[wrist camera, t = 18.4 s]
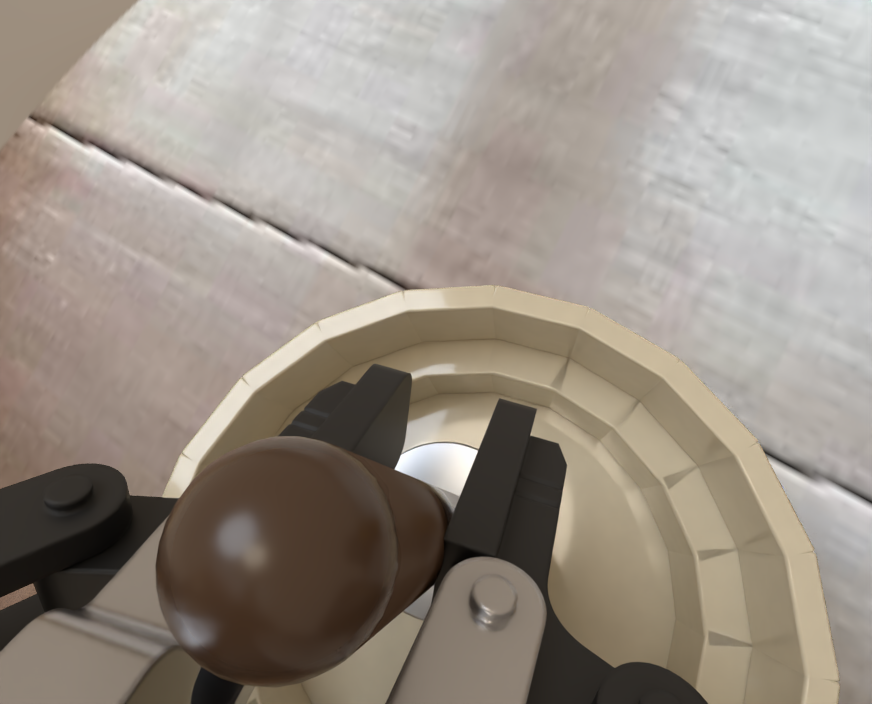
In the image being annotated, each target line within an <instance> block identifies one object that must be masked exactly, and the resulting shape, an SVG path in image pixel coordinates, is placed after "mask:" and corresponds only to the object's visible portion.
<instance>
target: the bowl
mask: <svg viewBox="0 0 872 704" xmlns="http://www.w3.org/2000/svg"><path fill="white" fill-rule="evenodd" d="M373 364H379V365H382V366H386V367H389V368H393V369H397V370H400V371H404V372H407V373H411V375H412V388H411V396H410V405H409V413H408V422H407V430H406V438H405V443H404V447H403V450H402V453H403V452H405V451H407V450H409V449H411V448H414V447H416V446H420V445H423V444H427V443H433V442H456V443H461V444H465V445H469V446H472V447H474V448H477V449H479V447H480V445H481V442H482V440H483V437H484V435H485V432H486V430H487V427H488V425H489V422H490V420H491V417H492V415H493V412H494V410H495V407H496V405H497V402H498V400H499V398H500V399H504V400H507V401H511V402H515V403H518V404H522V405H525V406H529V407H533V408H536V409H537V412H536V416H535V419H534V423H533V427H532V431H531V436H535V437H538V438H542V439H545V440H548V441H552V442H555V443H559V445H560V448H561V451H562V453H563V456H564V458H565V461H566V463H567V470H566V476H565V482H564V487H563V493H562V499H561V505H560V511H559V517H558V523H557V529H556V535H555V541H554V547H553V553H552V559H551V565H550V571H549V577H548V595H549V599H550V603H551V605H552V608H553V610H554V612H555V614H556V616H557V617H558V619H559V621H560V622H561V624H562V625H563V626H564V627H565V629H566V630H567V631H568V632H569V633H570V634H571V635H572V636H573V637H574V638H575V639H576V640H577V641H578V642H580V643H581V644H582V645H583V646H585V647H586V648H587V649H589V650H590V651H592V652H593V653H594V654H596V655H597V656H599V657H600V658H601V659H603V660H604V661H606V662H607V663H608V664H610V665H611V666H613V667H614V668H616V667H618V666H619V665H622V664H625V663H629V662H645V663H651V664H654V665H658V666H661V667H663V668H665V669H668V670H670V671H672V672H673V673H675V674H677V675H678V676H680V677H681V678H683V679H684V680H685V681H687V682H688V683H689V684H690V685H691V686H693V687H694V688H695V689H696V690H697V691H698V692H699V693H700V694H701V696H702V697H703V698H704V699H705V700H706V701H707V703H708V704H838V698H839V690H840V685H839V683H838V682H837V681H839V679H840V678H839V672H838V667H837V662H836V657H835V651H834V646H833V641H832V635H831V630H830V625H829V619H828V614H827V609H826V604H825V598H824V593H823V588H822V582H821V577H820V572H819V567H818V561H817V556H816V554H815V553H814V552H813V551H814V548H813V546H812V544H811V542H810V540H809V538H808V536H807V534H806V532H805V530H804V528H803V526H802V524H801V522H800V521H799V519H798V517H797V515H796V513H795V511H794V509H793V507H792V505H791V503H790V501H789V499H788V497H787V495H786V494H785V492H784V490H783V488H782V486H781V484H780V482H779V480H778V478H777V476H776V474H775V472H774V470H773V468H772V467H771V465H770V463H769V461H768V459H767V457H766V455H765V453H764V451H763V449H762V447H761V445H760V444H759V443H757V442H758V440H757V439H756V438H755V437H754V436H753V435H752V434H751V433H750V432H749V430H748V429H747V428H746V427H745V426H744V425H743V424H742V423H741V422H740V421H739V420H738V419H737V418H736V417H735V416H734V415H733V414H732V413H731V412H730V411H729V410H728V409H727V407H726V406H725V405H724V404H723V403H722V402H721V401H720V400H719V399H718V398H717V397H716V396H715V395H714V394H713V393H712V392H711V391H710V390H709V389H708V388H707V387H706V385H705V384H704V383H703V382H702V381H701V380H700V379H699V378H698V377H697V376H696V375H695V374H694V373H693V372H692V371H691V370H690V369H689V368H688V367H687V366H686V365H685V364H684V362H683V361H681V360H680V361H679V358H677V357H676V356H674V355H672V354H670V353H669V352H667V351H665V350H663V349H662V348H660V347H658V346H656V345H655V344H653V343H651V342H649V341H648V340H646V339H644V338H643V337H641V336H639V335H637V334H636V333H634V332H632V331H630V330H629V329H627V328H625V327H623V326H622V325H620V324H618V323H617V322H615V321H613V320H611V319H610V318H608V317H606V316H604V315H603V314H601V313H599V312H597V311H596V310H594V309H592V308H590V309H589V307H586V306H582V305H578V304H574V303H570V302H565V301H561V300H557V299H553V298H549V297H544V296H540V295H536V294H532V293H528V292H523V291H519V290H515V289H511V288H507V287H503V286H498V285H496V286H494V285H487V286H470V287H452V288H435V289H417V290H405V291H404V292H403V291H399V292H396V293H393V294H390V295H388V296H385V297H382V298H379V299H377V300H374V301H371V302H368V303H366V304H363V305H360V306H357V307H354V308H352V309H349V310H346V311H343V312H341V313H338V314H335V315H332V316H330V317H327V318H324V319H321V320H319V321H317V323H314V324H312V325H311V326H310V327H308V328H307V329H306V330H304V331H303V332H301V333H300V334H299V335H297V336H296V337H295V338H293V339H292V340H290V341H289V342H288V343H286V344H285V345H284V346H282V347H281V348H280V349H278V350H277V351H275V352H274V353H273V354H271V355H270V356H269V357H267V358H266V359H264V360H263V361H262V362H260V363H259V364H258V365H256V366H255V367H253V368H252V369H251V370H249V371H248V372H247V373H245V374H244V375H243V376H242V378H240V379H239V380H238V381H237V382H236V384H235V385H234V386H233V387H232V389H231V390H230V391H229V392H228V394H227V395H226V396H225V398H224V399H223V400H222V401H221V403H220V404H219V405H218V406H217V408H216V409H215V410H214V412H213V413H212V414H211V415H210V417H209V418H208V419H207V420H206V422H205V423H204V424H203V426H202V427H201V428H200V429H199V431H198V432H197V433H196V434H195V436H194V437H193V438H192V440H191V441H190V442H189V443H188V445H187V446H186V447H185V448H184V450H183V451H182V454H181V455H180V456H179V458H178V460H177V462H176V465H175V467H174V470H173V472H172V474H171V477H170V479H169V481H168V484H167V486H166V488H165V491H164V493H163V496H162V497H165V498H180V496H181V495H182V494H183V492H184V491H185V490H186V488H187V487H188V486H189V484H190V483H191V482H192V480H193V479H194V478H195V477H196V476H197V475H199V474H200V473H201V472H202V471H203V470H204V469H205V468H206V467H207V466H208V465H209V464H211V463H212V462H214V461H215V460H217V459H218V458H220V457H221V456H223V455H224V454H226V453H227V452H230V451H232V450H234V449H237V448H239V447H241V446H244V445H246V444H249V443H251V442H253V441H257V440H261V439H266V438H271V437H275V436H278V435H279V434H280V433H281V432H282V431H283V430H284V429H285V428H286V427H287V426H288V425H289V424H290V425H291V423H292V420H293V419H294V418H295V417H296V416H297V415H298V414H299V413H300V412H301V411H304V408H305V406H306V405H307V404H308V403H309V402H310V401H311V400H312V399H313V398H314V397H315V396H316V395H317V394H318V393H319V391H322V390H324V389H326V388H328V387H330V386H332V385H334V384H336V383H338V382H340V381H345V382H349V383H352V384H356V383H357V382H358V381H359V380H360V378H361V377H362V376H363V375H364V374H365V372H366V371H367V370H368V369H369V368H370V367H371V366H372V365H373ZM402 453H401V454H402ZM422 623H423V620H419V619H416V618H414V617H412V616H410V615H407V614H405V613H404V612H402V613H400V614H399V615H398V616H397V617H396V618H395V619H393V620H392V621H391V622H390V623H389V624H388V625H386V626H385V627H384V628H383V629H382V630H381V631H379V632H378V633H377V634H376V635H375V636H373V637H372V638H371V639H370V640H369V641H368V642H366V643H365V644H364V645H363V646H362V647H361V648H359V649H358V650H357V651H356V652H355V653H354V654H352V656H350V657H349V658H348V659H346V660H345V661H344V662H342V663H341V664H339V665H338V666H336V667H335V668H333V669H331V670H330V671H327V672H325V673H323V674H321V675H319V676H317V677H314V678H311V679H309V680H306V681H304V682H302V683H299V684H293V685H288V686H282V687H277V688H273V687H255V688H254V690H253V692H252V694H251V695H250V697H249V699H248V701H247V703H246V704H385V703H386V701H387V699H388V697H389V695H390V692H391V690H392V688H393V686H394V684H395V682H396V679H397V677H398V675H399V673H400V671H401V669H402V667H403V664H404V662H405V660H406V658H407V656H408V654H409V651H410V649H411V647H412V645H413V643H414V641H415V638H416V636H417V634H418V632H419V630H420V628H421V625H422Z"/></svg>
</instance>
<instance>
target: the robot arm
mask: <svg viewBox="0 0 872 704" xmlns="http://www.w3.org/2000/svg"><path fill="white" fill-rule="evenodd" d="M411 388H412V375H411V373H407V372H404V371H400V370H397V369H393V368H389V367H386V366H382V365H379V364H373V365H372V366H371V367H370V368H369V369H368V370H367V371H366V372H365V374H364V375H363V376H362V377H361V378H360V380H359V381H358V382H357V383H356V384H352V383H349V382H345V381H340V382H338V383H336V384H334V385H332V386H330V387H328V388H326V389H324V390H322V391H319V393H318V394H317V395H316V396H315V397H314V398H313V399H312V400H311V401H310V402H309V403H308V404H307V405H306V406H305V408H304V411H301V412H300V413H299V414H298V415H297V416H296V417H295V418H294V419H293V420H292V423H291V425H290V424H289V425H288V426H287V427H286V428H285V429H284V430H283V431H282V432H281V433H280V434H279V435H278V436H299V437H307V438H314V439H318V440H322V441H326V442H328V443H331V444H333V445H336V446H338V447H341V448H343V449H346V450H348V451H350V452H353V453H355V454H358V455H360V456H363V457H365V458H368V459H370V460H372V461H375V462H377V463H380V464H382V465H385V466H387V467H390V468H392V469H395V467H396V466H397V464H398V461H399V459H400V456H401V453H402V450H403V447H404V443H405V438H406V430H407V422H408V413H409V405H410V396H411ZM536 412H537V409H536V408H533V407H529V406H525V405H522V404H518V403H515V402H511V401H507V400H504V399H500V398H499V400H498V402H497V405H496V407H495V410H494V412H493V415H492V417H491V420H490V422H489V425H488V427H487V430H486V432H485V435H484V437H483V440H482V442H481V445H480V447H479V450H478V452H477V455H476V457H475V460H474V462H473V465H472V467H471V470H470V472H469V475H468V477H467V480H466V482H465V485H464V487H463V490H462V492H461V495H460V497H459V500H458V502H457V505H456V507H455V510H454V512H453V515H452V517H451V520H450V522H449V525H448V527H447V530H446V532H445V535H444V538H443V540H444V557H443V563H442V567H441V570H440V573H439V575H438V577H437V579H436V580H435V585H434V591H433V596H432V602H431V606H430V608H429V610H428V612H427V615H426V617H425V619H424V621H423V623H422V625H421V628H420V630H419V632H418V634H417V636H416V638H415V641H414V643H413V645H412V647H411V649H410V651H409V654H408V656H407V658H406V660H405V662H404V664H403V667H402V669H401V671H400V673H399V675H398V677H397V679H396V682H395V684H394V686H393V688H392V690H391V692H390V695H389V697H388V699H387V701H386V703H385V704H708V703H707V701H706V700H705V699H704V698H703V697H702V696H701V694H700V693H699V692H698V691H697V690H696V689H695V688H694V687H693V686H691V685H690V684H689V683H688V682H687V681H685V680H684V679H683V678H681V677H680V676H678V675H677V674H675V673H673V672H672V671H670V670H668V669H665V668H663V667H661V666H658V665H654V664H651V663H645V662H629V663H625V664H622V665H619V666H618V667H616V668H614V667H613V666H611V665H610V664H608V663H607V662H606V661H604V660H603V659H601V658H600V657H599V656H597V655H596V654H594V653H593V652H592V651H590V650H589V649H587V648H586V647H585V646H583V645H582V644H581V643H580V642H578V641H577V640H576V639H575V638H574V637H573V636H572V635H571V634H570V633H569V632H568V631H567V630H566V629H565V627H564V626H563V625H562V624H561V622H560V621H559V619H558V617H557V616H556V614H555V612H554V610H553V608H552V605H551V603H550V599H549V595H548V577H549V571H550V565H551V559H552V553H553V547H554V541H555V535H556V529H557V523H558V517H559V511H560V505H561V499H562V493H563V487H564V482H565V476H566V470H567V463H566V461H565V458H564V456H563V453H562V451H561V448H560V445H559V443H555V442H552V441H548V440H545V439H542V438H538V437H535V436H531V431H532V427H533V423H534V419H535V416H536ZM178 499H179V498H165V497H147V496H130V495H129V491H128V486H127V482H126V480H125V477H124V476H123V475H122V474H121V473H120V472H119V471H118V470H116V469H114V468H112V467H110V466H106V465H101V464H78V465H72V466H67V467H64V468H60V469H57V470H54V471H51V472H48V473H45V474H43V475H40V476H37V477H34V478H31V479H28V480H25V481H22V482H19V483H16V484H13V485H11V486H8V487H5V488H2V489H0V597H2V596H5V595H7V594H9V593H11V592H14V591H16V590H18V589H20V588H23V587H25V586H27V585H29V584H32V583H33V584H34V587H35V589H36V592H37V594H36V595H33V596H31V597H29V598H27V599H25V600H22V601H20V602H18V603H16V604H14V605H11V606H9V607H7V608H5V609H3V610H0V704H246V703H247V701H248V699H249V697H250V695H251V694H252V692H253V690H254V688H255V686H246V685H241V684H237V683H234V682H231V681H227V680H224V679H221V678H219V677H217V676H216V675H214V674H212V673H210V672H209V671H207V670H205V669H204V668H202V667H201V666H200V665H199V664H197V663H196V662H195V661H194V660H193V659H192V658H191V657H190V656H189V655H188V654H187V653H186V652H185V651H184V650H183V649H182V648H181V646H180V645H179V644H178V642H177V641H176V639H175V638H174V636H173V635H172V633H171V632H170V630H169V629H168V626H167V624H166V621H165V619H164V617H163V614H162V612H161V609H160V605H159V600H158V595H157V590H156V569H155V565H156V558H157V552H158V545H159V541H160V538H161V535H162V532H163V529H164V526H165V523H166V521H167V519H168V517H169V515H170V513H171V511H172V509H173V507H174V505H175V503H176V502H177V500H178Z"/></svg>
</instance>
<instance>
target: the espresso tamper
mask: <svg viewBox="0 0 872 704" xmlns="http://www.w3.org/2000/svg"><path fill="white" fill-rule="evenodd" d="M478 450H479V449H477V448H474V447H472V446H469V445H465V444H461V443H456V442H433V443H427V444H423V445H420V446H416V447H414V448H411V449H409V450H407V451H405V452H403V453H402V454H401V456H400V459H399V461H398V464H397V466H396V467H395V469H392V468H390V467H387V466H385V465H382V464H380V463H377V462H375V461H372V460H370V459H368V458H365V457H363V456H360V455H358V454H355V453H353V452H350V451H348V450H346V449H343V448H341V447H338V446H336V445H333V444H331V443H328V442H326V441H322V440H318V439H314V438H307V437H299V436H275V437H271V438H266V439H261V440H257V441H253V442H251V443H249V444H246V445H244V446H241V447H239V448H237V449H234V450H232V451H230V452H227V453H226V454H224V455H223V456H221V457H220V458H218V459H217V460H215V461H214V462H212V463H211V464H209V465H208V466H207V467H206V468H205V469H204V470H203V471H202V472H201V473H200V474H199V475H197V476H196V477H195V478H194V479H193V480H192V482H191V483H190V484H189V486H188V487H187V488H186V490H185V491H184V492H183V494H182V495H181V496H180V498H179V499H178V500H177V502H176V503H175V505H174V507H173V509H172V511H171V513H170V515H169V517H168V519H167V521H166V523H165V526H164V529H163V532H162V535H161V538H160V541H159V545H158V552H157V558H156V565H155V569H156V590H157V595H158V600H159V605H160V609H161V612H162V614H163V617H164V619H165V621H166V624H167V626H168V629H169V630H170V632H171V633H172V635H173V636H174V638H175V639H176V641H177V642H178V644H179V645H180V646H181V648H182V649H183V650H184V651H185V652H186V653H187V654H188V655H189V656H190V657H191V658H192V659H193V660H194V661H195V662H196V663H197V664H199V665H200V666H201V667H202V668H204V669H205V670H207V671H209V672H210V673H212V674H214V675H216V676H217V677H219V678H221V679H224V680H227V681H231V682H234V683H237V684H241V685H246V686H255V687H273V688H277V687H282V686H288V685H293V684H299V683H302V682H304V681H306V680H309V679H311V678H314V677H317V676H319V675H321V674H323V673H325V672H327V671H330V670H331V669H333V668H335V667H336V666H338V665H339V664H341V663H342V662H344V661H345V660H346V659H348V658H349V657H350V656H352V654H354V653H355V652H356V651H357V650H358V649H359V648H361V647H362V646H363V645H364V644H365V643H366V642H368V641H369V640H370V639H371V638H372V637H373V636H375V635H376V634H377V633H378V632H379V631H381V630H382V629H383V628H384V627H385V626H386V625H388V624H389V623H390V622H391V621H392V620H393V619H395V618H396V617H397V616H398V615H399V614H400V613H402V612H404V613H405V614H407V615H410V616H412V617H414V618H416V619H419V620H423V621H424V619H425V617H426V615H427V612H428V610H429V608H430V606H431V602H432V596H433V591H434V585H435V580H436V579H437V577H438V575H439V573H440V570H441V567H442V563H443V557H444V540H443V538H444V535H445V532H446V530H447V527H448V525H449V522H450V520H451V517H452V515H453V512H454V510H455V507H456V505H457V502H458V500H459V497H460V495H461V492H462V490H463V487H464V485H465V482H466V480H467V477H468V475H469V472H470V470H471V467H472V465H473V462H474V460H475V457H476V455H477V452H478Z"/></svg>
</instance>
